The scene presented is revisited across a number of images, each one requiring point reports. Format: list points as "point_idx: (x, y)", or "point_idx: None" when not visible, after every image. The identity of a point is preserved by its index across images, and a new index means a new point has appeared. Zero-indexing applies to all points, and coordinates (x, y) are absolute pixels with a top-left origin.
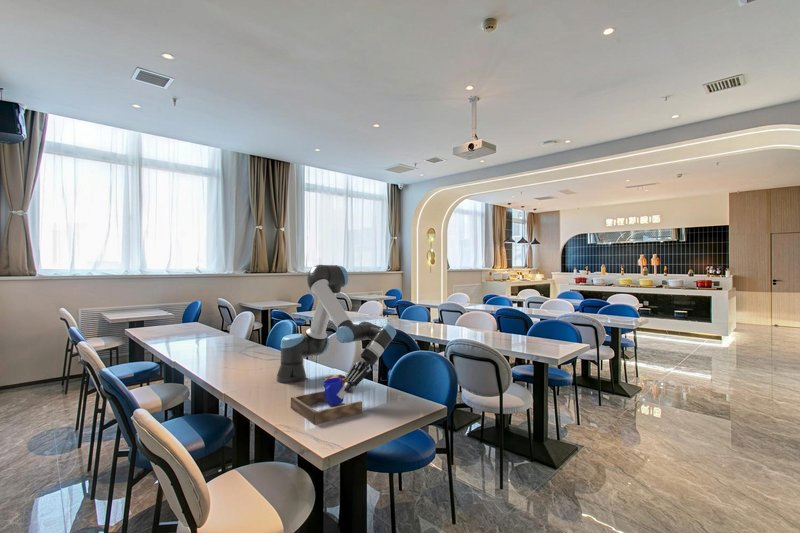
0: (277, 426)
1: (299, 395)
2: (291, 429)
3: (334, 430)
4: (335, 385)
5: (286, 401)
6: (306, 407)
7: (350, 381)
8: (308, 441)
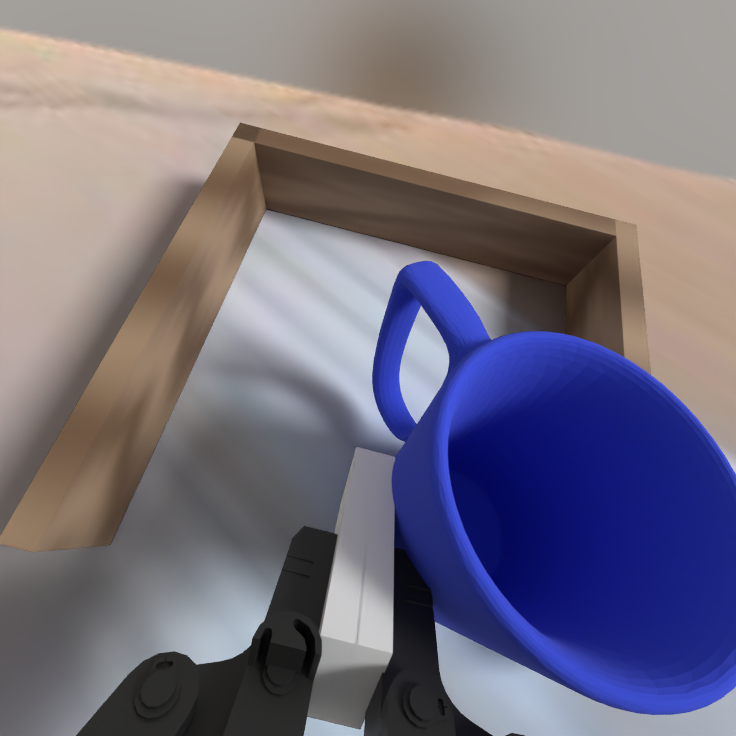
0: (390, 110)
1: (640, 280)
2: (309, 115)
3: (96, 194)
4: (428, 411)
5: (715, 331)
6: (370, 157)
7: (255, 697)
8: (140, 77)
